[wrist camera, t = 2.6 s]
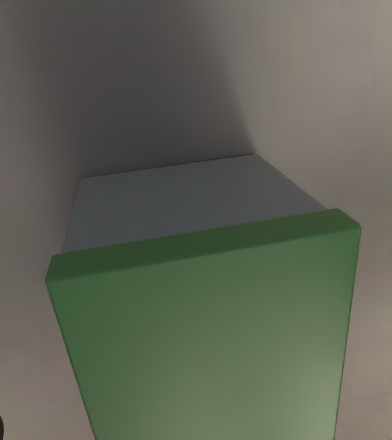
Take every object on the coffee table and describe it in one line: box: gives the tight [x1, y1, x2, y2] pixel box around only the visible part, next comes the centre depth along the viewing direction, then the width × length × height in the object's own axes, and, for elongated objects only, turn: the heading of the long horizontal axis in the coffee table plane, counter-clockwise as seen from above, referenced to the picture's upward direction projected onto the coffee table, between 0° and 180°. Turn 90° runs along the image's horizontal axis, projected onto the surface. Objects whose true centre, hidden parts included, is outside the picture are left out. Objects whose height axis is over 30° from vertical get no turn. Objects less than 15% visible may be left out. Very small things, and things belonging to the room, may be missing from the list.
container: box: [45, 154, 361, 440], centre depth 10 cm, size 6×5×5 cm
